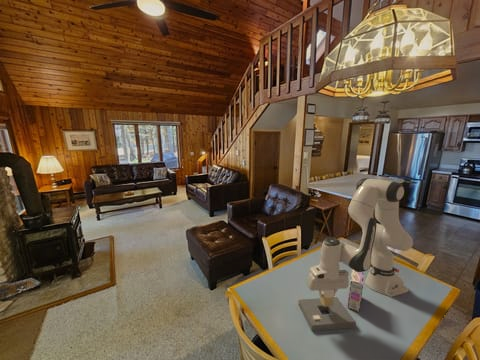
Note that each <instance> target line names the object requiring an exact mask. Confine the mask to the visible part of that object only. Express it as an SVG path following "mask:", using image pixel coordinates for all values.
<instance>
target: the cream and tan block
mask: <svg viewBox="0 0 480 360" xmlns="http://www.w3.org/2000/svg"><path fill="white" fill-rule="evenodd" d="M321 292H323V294H324V295H323V297H320V296H319V298H320V301H321V303H322V304H323V306H324V307H328V306H333V299H334V297H335V296H334V289H328V290H322V291H321Z"/></svg>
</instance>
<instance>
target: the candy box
mask: <svg viewBox="0 0 480 360" xmlns="http://www.w3.org/2000/svg"><path fill="white" fill-rule="evenodd" d="M363 287H364V272H356V271H355V270H353V269H352V268H351V276H350V281H349V291H348V302H347V308H348V309H350V310H352V311H355V312H356V313H357V312H358V313H360V312H361V304H362V303H361V301H362V297H363V290H364V289H363Z"/></svg>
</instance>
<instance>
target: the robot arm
mask: <svg viewBox="0 0 480 360" xmlns="http://www.w3.org/2000/svg"><path fill="white" fill-rule="evenodd" d="M355 189H356V191H355V192H354V194H353V196H352V198H351V200H350V203H349V205H348V208H347V211H348V215H349V216H350V219H352V220H353V221H354V222H355V223H357V224H358V225H359V226H360V227H361V229H362V230H361V231H362V236H361V241H360V245H359V247H358V248H357V247H355V246H354V245H351V244H349V243H347V242H344V241H342V240H340V239H337V238H335V237H327V238H324V240H323V242H322V245H321V251H320V261H319V264H316V265H314V266H310V267H309V273H308V276H307V281H306V282H307V283H306V285H307V287H308V289H309V291H312V292H313V291H314V292H315V291H318V295H319V298H320V297H323V295H324V294H323V292H321V291H322V290H328V289H334V297H336V296H335V295H336V293H337V292H338V291H339V290H341V289H342V290H343V289H348V288H349V286H350V281H349V271H348V270H346V269H340V268H341V266H340V263H342V264H343V265H346V266H347V267H348V268H350V269H351V270H352V269H353V270H355V271H356V272H363V273H364V272H366V271H368V272H367V275H366V279H365V281H364V283H365V284H366V286H367V287H368V288H370V289H371V290H373V291H375V292H376V293H380V294H383V295H385V296H387V297H390V298H391V297H396V296H399V295H403V294H407V293H408V292H409V289H408V287H406V285H405V284H404V283H405V282H404V280H403V279H402V278H401V276H399V275H398V273H399V272H400V270H399V268H397V267H394V262H395V257H394V254H393V253H392V251H391V250H390V249H389V248H391V249H393V250H397V251H402V252H407V251H409V250H410V249H412V247H413V244H414V240H413V238H412V236H411V235H410V234H409V233H408V232H407V231H406V230H405V228H404V227H403V226H402V224H401V222H400V215H399V210H400V201H401V200H402V199H403V197H404V196H405V187H404V186H403V184H402V183H400V182H397V181H391V180H386V179H382V178H380V179H378V178H368V177H365V178H361V179H359V181H358V182H357V183H356V186H355ZM374 217H375V218H374ZM375 219H376V220H375ZM377 222H379V223H377ZM388 247H389V248H388Z"/></svg>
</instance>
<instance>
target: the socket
mask: <svg viewBox="0 0 480 360" xmlns="http://www.w3.org/2000/svg"><path fill="white" fill-rule="evenodd" d="M298 306H299V310H301V312H302V315H303V317H304V319H305V320H306V323H307V325H308V327H309V330H310V331H311V332H314V331H326V330H337V329H349V328H351V329H352V328H355V327H356V324H357V321H356V320H355V319H354V318H353V316H352V315H351V313H350V312H349V311H348V310H347V308H346V307H345V306H344V304H343V303H342V302H341V300H340V299H339V298H338V297H337V296H334V299H333V306H328V307H324V306H323V304H322V303H321V301H320V297H319V298H308V299H307V298H305V299H303V298H302V299H298ZM322 311H327V312H328V313H329V314H323V313H322Z"/></svg>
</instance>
